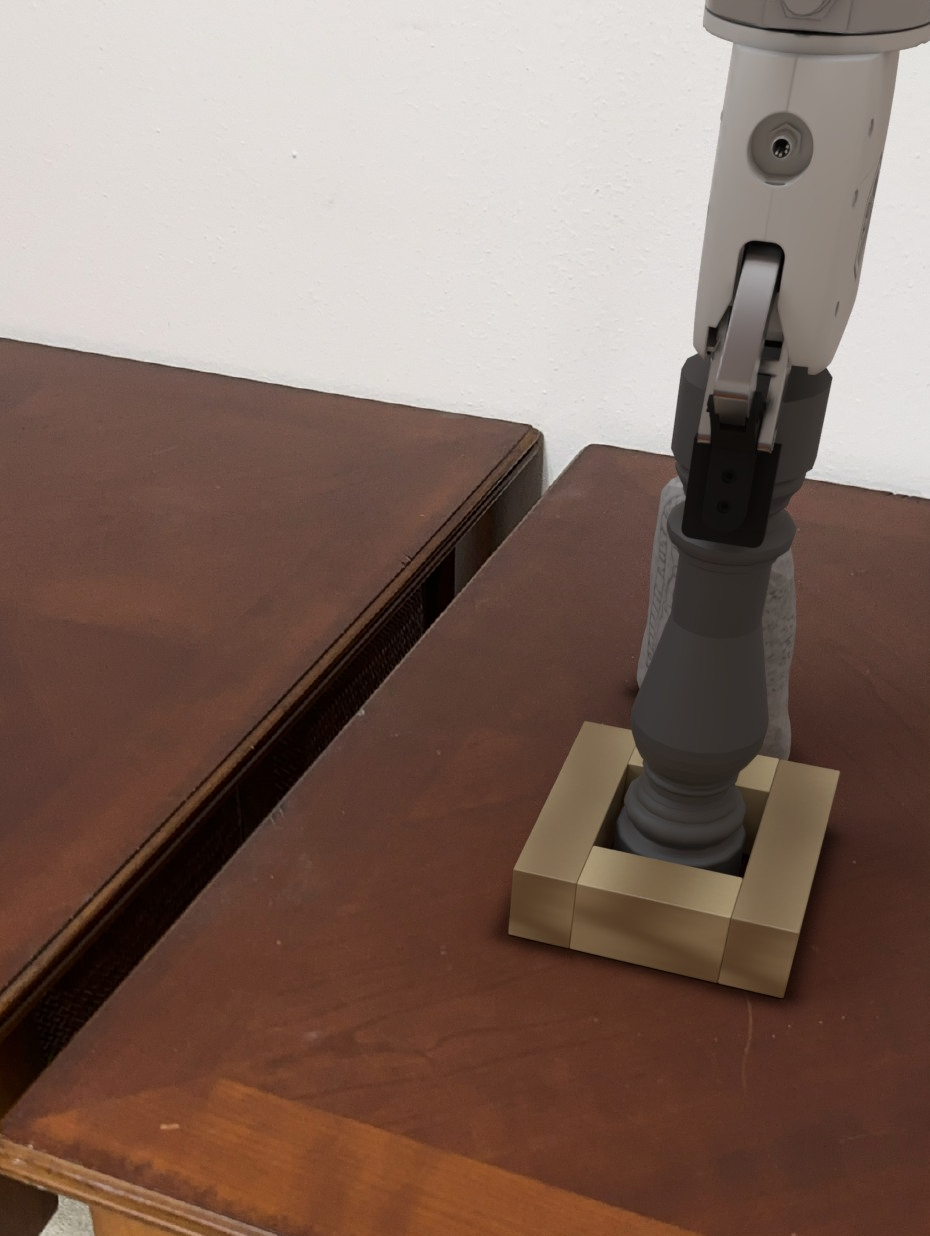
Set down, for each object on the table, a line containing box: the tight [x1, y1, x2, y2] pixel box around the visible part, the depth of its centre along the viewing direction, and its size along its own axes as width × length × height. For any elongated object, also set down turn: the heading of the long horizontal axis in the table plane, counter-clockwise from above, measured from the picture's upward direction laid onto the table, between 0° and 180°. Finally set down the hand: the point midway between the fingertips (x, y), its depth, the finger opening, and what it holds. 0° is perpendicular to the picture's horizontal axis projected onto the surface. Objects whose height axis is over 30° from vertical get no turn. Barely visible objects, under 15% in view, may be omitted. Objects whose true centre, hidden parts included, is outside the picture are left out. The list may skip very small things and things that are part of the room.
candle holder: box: [611, 346, 834, 877], centre depth 67 cm, size 6×6×25 cm
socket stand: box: [508, 720, 841, 999], centre depth 74 cm, size 13×13×4 cm
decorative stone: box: [636, 475, 797, 761], centre depth 80 cm, size 11×6×15 cm, turn 21°
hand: (737, 500), depth 62 cm, fingers closed on candle holder, 5 cm apart
